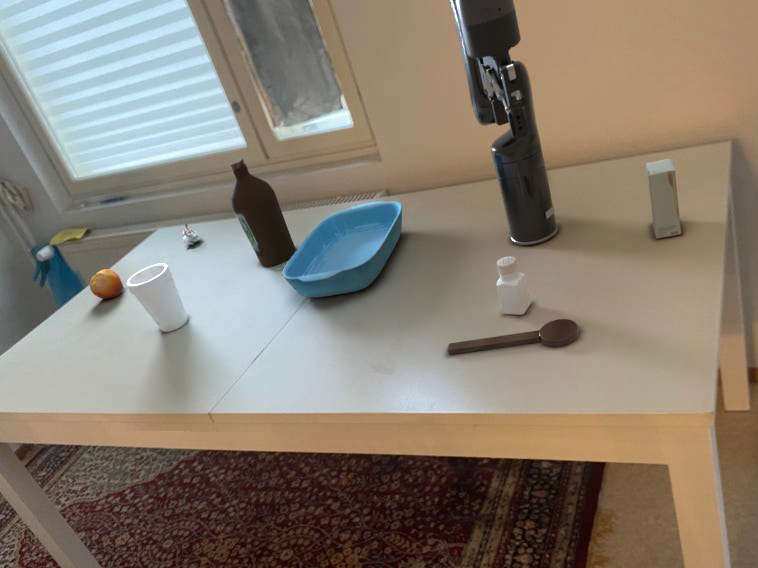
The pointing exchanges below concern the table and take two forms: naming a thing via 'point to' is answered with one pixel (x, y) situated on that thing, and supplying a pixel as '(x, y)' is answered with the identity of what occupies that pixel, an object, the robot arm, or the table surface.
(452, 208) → the table surface
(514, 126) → the robot arm
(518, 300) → the salt shaker
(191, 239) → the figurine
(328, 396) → the table surface
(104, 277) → the fruit
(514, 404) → the table surface
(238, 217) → the olive oil
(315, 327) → the table surface
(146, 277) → the foam cup
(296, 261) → the casserole dish
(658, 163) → the cosmetic box
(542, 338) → the wooden spoon
